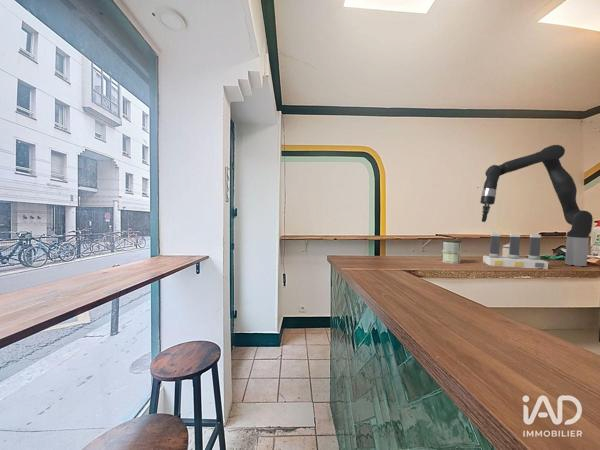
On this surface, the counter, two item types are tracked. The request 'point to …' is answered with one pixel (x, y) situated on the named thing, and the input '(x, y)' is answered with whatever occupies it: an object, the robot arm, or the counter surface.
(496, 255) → the lever far
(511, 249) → the lever middle
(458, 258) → the coffee can
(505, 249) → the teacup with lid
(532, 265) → the console
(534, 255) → the lever near
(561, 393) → the counter surface
